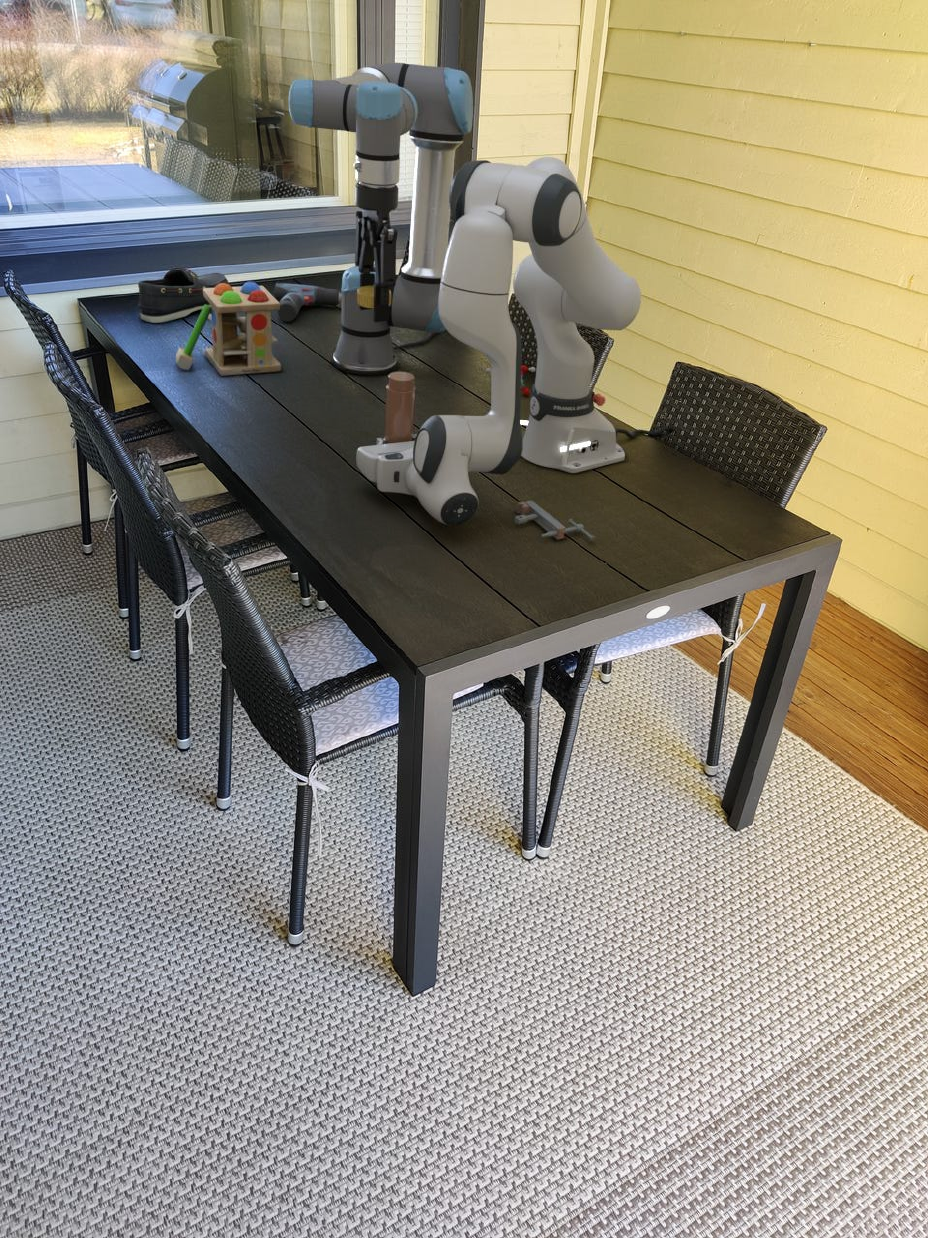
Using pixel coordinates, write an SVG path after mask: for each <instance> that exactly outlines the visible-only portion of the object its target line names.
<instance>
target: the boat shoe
mask: <svg viewBox="0 0 928 1238" xmlns="http://www.w3.org/2000/svg"><path fill="white" fill-rule="evenodd" d="M221 283H226V284H228V285H230V282H229V280H228V279H227V277H226V276H225V274H223V273H220V272H211V273H205V274H201V275H198V274H197V273H195V272H194V271H192V270H190V269H189V268H182V267H180V266H176V267H173V268H171V269H170V270H168V271H167V272H166V273H165V274H164V276H163V277H162V278H158V279H143V280H139V281H138V282H137V285H138V286H137V287H138V293H139V294H138V295H139V296H138V301H139V302H138V303H137V307H139V308H140V319H141V320H143V321H145V322H148V323H152V324H158V323H160V324H161V323H166V322H170V321H173V320H177V319H181V318H184V317H187V316H188V315H190V314H191V313H193V312H196V311H199V310H202V309H203V307H204V305H208V306H210V307H211V305H210V304H209V302H208V301H207V300H206V299H205V297H204V296H203V289H204V288H215V287H216V286H217V285H218V284H221Z"/></svg>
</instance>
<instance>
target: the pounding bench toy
mask: <svg viewBox="0 0 928 1238" xmlns="http://www.w3.org/2000/svg"><path fill="white" fill-rule="evenodd" d="M203 296H204V297H205V299H206V300H207V301H208V302H209V304H210V305H211V307H210V306H208V305H204V307H203V309H201V312H200V313H199V316H198V318H197V320H196V322H195V324H194V327H193V329H192V331H191V332H190V333H191V334H190V336H189V338H188V340H187V343H186V344H185V347H184V348H182V347H180V346H179V347H178V349H177V351H176V354H175V357H174V358H175V362H176V365H177V366H178V368H179V369H182V370H185V371H189V370H190V369H191V367H192V365H193V363H194V356H193V351H194V348H195V347H196V345H197V342H198V340H199V337H200V336H201V333H202V332H203V329H204V326H205V325H206V322H207V320H209V321H210V322H211V336H212V337H211V338H212V339H211V340H212V348H205V349H204V352H205V353H204V355H205V357H206V359H208V361H209V363H210V364H211V365H212V366H213V367H214V369H215V370H216V371H217V372H218V374H219V375H220V376H222V377H223V376H234V375H235V376H236V375H246V374H247V375H250V374H262V373H275V372H281V370H282V364H281V363H280V362H279V360H278V359H277V358H276V357H275V356H274V355H273V348H272V347H273V345H272V344H276V343H278V342H279V341H278V339H277V338H276V337H275V336H274V334H272V311H278V310H280V302H278V301H277V300H276V299H275V296H273V295H272V294H271V293H270V292H269V290H268V289H267V288H266V287H264V285H259V284H257V283H256V282H255V281H247V282H245V283H244V284H243V285H242V286H232V285H230V284H229V285H228V284H226V283H221V284H218V285H217V286H216V287H215V288H204V289H203ZM238 313H244V314H245V315H244V316H238ZM238 329H239V331H240V333H239V334H238Z"/></svg>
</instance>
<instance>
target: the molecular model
mask: <svg viewBox="0 0 928 1238" xmlns="http://www.w3.org/2000/svg"><path fill="white" fill-rule="evenodd" d="M527 371H529V372H531V373H536V367H534V366H531V367H527V366H526V365H522V370H521V392H522V393H523V396H525V397H528V396H529V395H531V390H530V389H528V388H527V387H526V385H525V384H524V380H523V376H524V374H525V373H526V372H527ZM485 373H486V374H490V373H491V367H487V368H486V369H485Z"/></svg>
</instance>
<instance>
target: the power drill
mask: <svg viewBox="0 0 928 1238" xmlns="http://www.w3.org/2000/svg"><path fill="white" fill-rule="evenodd" d="M274 298H275V299H276V300H277V301H278V302H279V303H280V310H277V315H278V318H279V319H280V320H281V321H284V322H292V321H293V320H295V318H296V317H297V316H298V314H299V312H300V310H301V309H302V307H303V306H306V307H309V306H312V307H313V306H338V305H339V304H342V292H341V291H339V290H338V289H335V288H334V289H332V288H325V287H321V286H316V285H307V284H297V283H281V282H276V283H275V285H274Z"/></svg>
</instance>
